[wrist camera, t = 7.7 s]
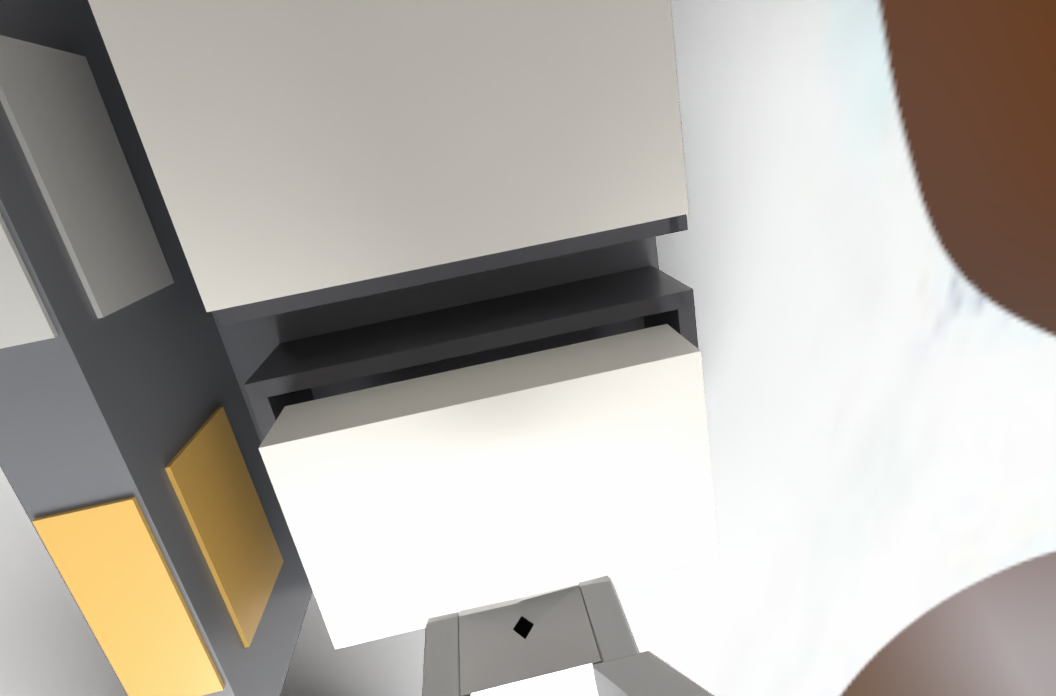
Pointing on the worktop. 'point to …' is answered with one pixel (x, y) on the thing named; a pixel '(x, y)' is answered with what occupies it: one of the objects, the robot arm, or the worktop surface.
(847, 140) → the worktop surface
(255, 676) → the switch unit
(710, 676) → the worktop surface
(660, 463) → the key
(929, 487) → the worktop surface
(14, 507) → the worktop surface
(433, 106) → the middle key
